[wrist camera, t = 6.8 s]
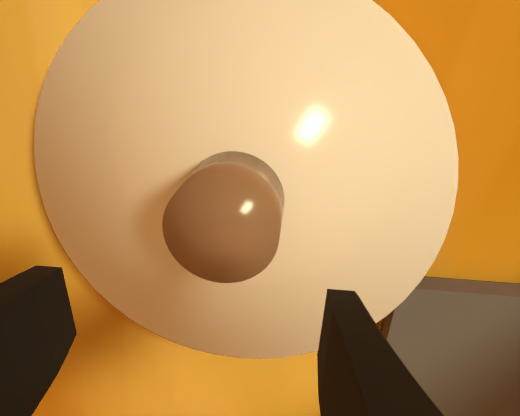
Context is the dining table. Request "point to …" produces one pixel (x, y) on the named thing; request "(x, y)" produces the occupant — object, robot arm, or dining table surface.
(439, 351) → the mat
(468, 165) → the dining table surface
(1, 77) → the dining table surface
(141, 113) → the lid
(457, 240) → the dining table surface
